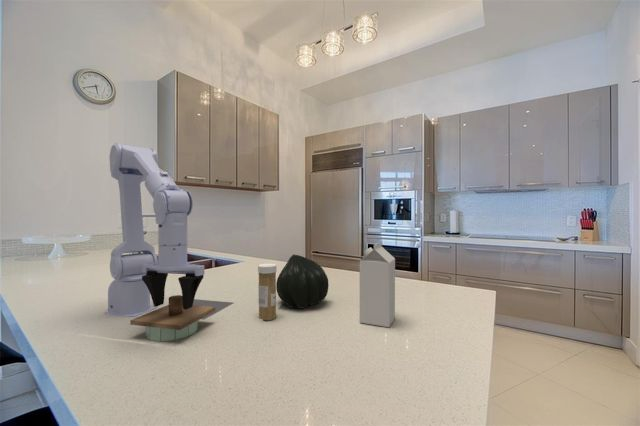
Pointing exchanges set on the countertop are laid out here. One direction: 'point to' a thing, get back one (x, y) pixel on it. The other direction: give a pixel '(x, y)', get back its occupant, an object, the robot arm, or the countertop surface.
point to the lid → (173, 315)
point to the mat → (212, 305)
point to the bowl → (170, 333)
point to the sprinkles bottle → (267, 291)
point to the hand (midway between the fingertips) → (173, 306)
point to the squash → (302, 282)
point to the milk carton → (377, 287)
